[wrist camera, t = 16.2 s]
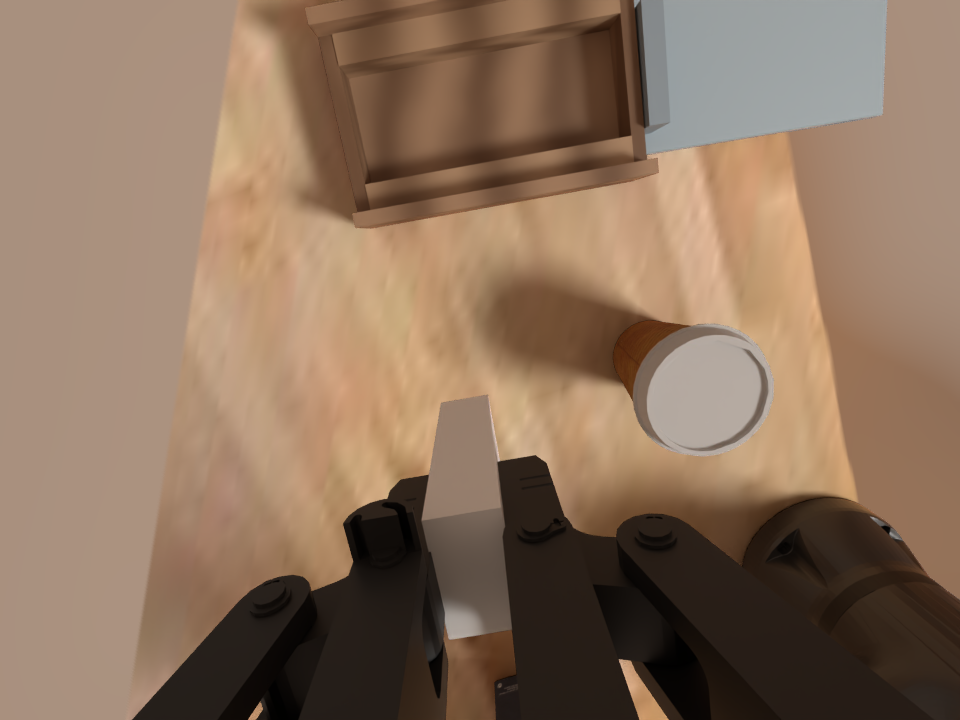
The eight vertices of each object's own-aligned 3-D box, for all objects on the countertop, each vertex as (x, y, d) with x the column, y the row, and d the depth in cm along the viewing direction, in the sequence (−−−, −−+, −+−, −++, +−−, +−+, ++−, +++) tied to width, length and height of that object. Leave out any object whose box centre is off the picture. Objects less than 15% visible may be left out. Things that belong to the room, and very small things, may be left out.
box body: (614, -12, 37) (640, -57, 32) (631, 181, 41) (658, 172, 35) (329, 42, 38) (304, 7, 32) (371, 228, 41) (355, 227, 36)
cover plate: (875, -37, 38) (938, -79, 33) (870, 118, 40) (927, 101, 35) (616, 8, 38) (639, -27, 33) (628, 158, 41) (651, 147, 36)
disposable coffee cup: (720, 356, 45) (808, 400, 33) (638, 424, 46) (695, 488, 35) (657, 279, 43) (726, 296, 31) (573, 352, 44) (610, 394, 33)
